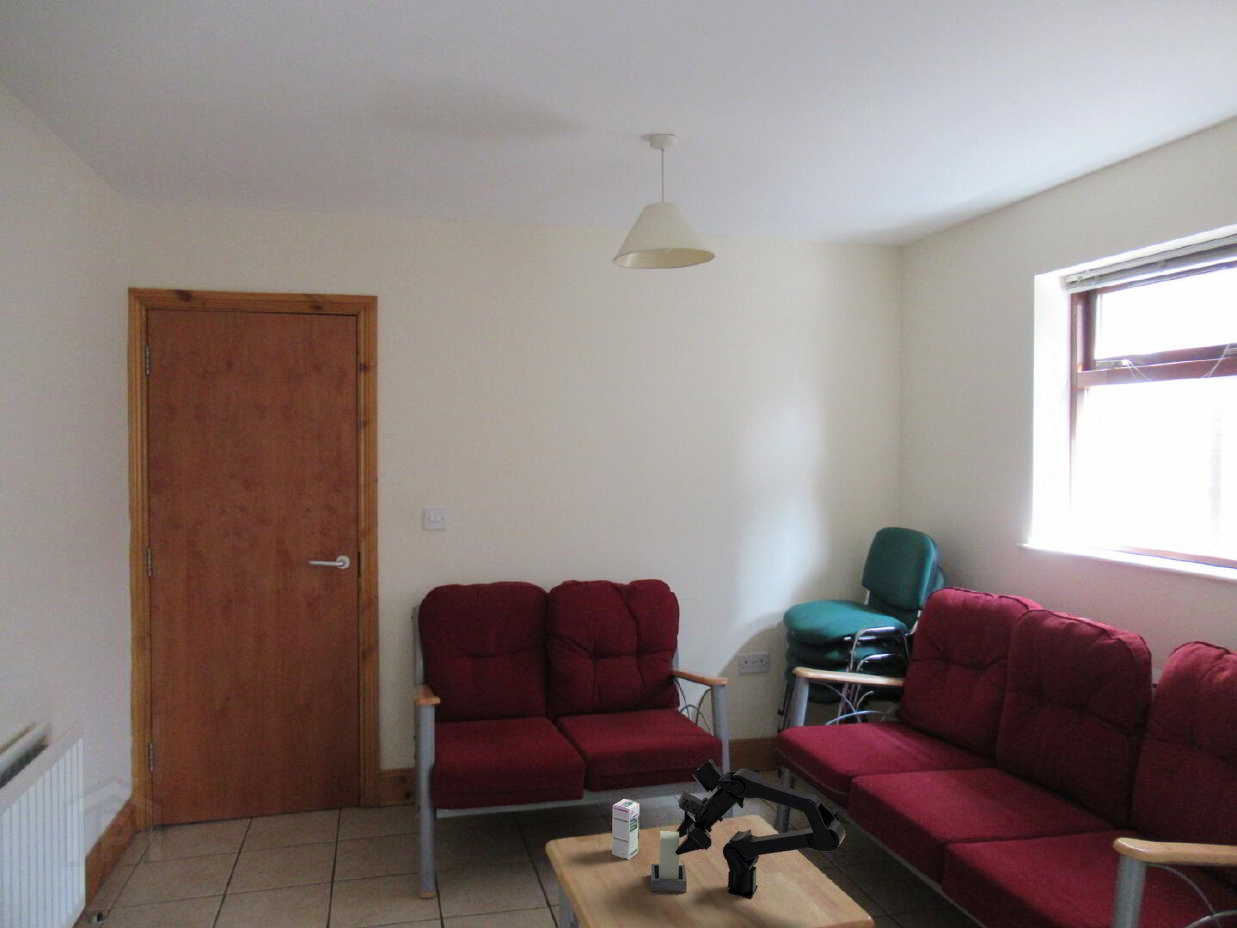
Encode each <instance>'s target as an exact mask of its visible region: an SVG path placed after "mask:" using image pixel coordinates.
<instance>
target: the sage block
mask: <svg viewBox="0 0 1237 928" xmlns="http://www.w3.org/2000/svg"><path fill="white" fill-rule="evenodd" d="M676 831H677V830H676ZM676 831H673V830H672V831H671V830H670V831H669V830H668V831H667V830H660V831H659V855H658V856H659V857H658V859H659V860H658V861H659V862H658V864H659V876H658V879H679V877H678V873H679V865H680V862H679V861H680V855H677V854H676V853H675V851H676V850H677V848H678V847H679V846H680V838H679V832H676Z"/></svg>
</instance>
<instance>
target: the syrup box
mask: <svg viewBox="0 0 1237 928" xmlns="http://www.w3.org/2000/svg"><path fill="white" fill-rule="evenodd" d="M611 826H612V833H611V834H612V839H611V842H612V843H611V849H612V850H611V855H613V856H615V857H618V856H619V857H618V858H621V859H624V858H626V859H625V860H630V859H631V858H633V857H634V856H636V855H637V854H638V852H639V853H640V802H638V801H635V800H632V799H627V798H623V799H622V800H620V801H618V802H616V803H614V804H613V805H612V825H611Z"/></svg>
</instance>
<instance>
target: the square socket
mask: <svg viewBox="0 0 1237 928" xmlns="http://www.w3.org/2000/svg"><path fill="white" fill-rule="evenodd" d="M656 877H659V863H651V864H650V882H651V883H650V884H651V885H650V886H651V887H650V888H651V890H652V891H651V892H654V891H662V892H661V893H682V892H685V894H686V893H687V890H688V889H687V887H688V886H687V873H686V865H685V864H679V873H678V879H659V878H656ZM679 878H681V879H679Z"/></svg>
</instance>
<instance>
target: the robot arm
mask: <svg viewBox="0 0 1237 928" xmlns="http://www.w3.org/2000/svg"><path fill="white" fill-rule="evenodd" d="M691 775H692V777H693V778H694V779H695V780H696V782H697V783H698V784H699V785H700V786H701V787H702V789H703V790H704V791H705V792H707V793H709V792H711V793H712V792H713V791H714V790H715V789H717V788H718V787H719V788H718V789H717V790H716V791H715V792H714V793H713V794H712V795H711V796H710V797H708V796H707V797H704V798H702V799H700V798H699V797H697V796H696V795H693V794H691V793H689V792H686V791H682V793H681V795H680V797H679V798H678V800H677V803H678V808H679V809H681V810H682V811H683V819H682V820H681V822H680V824H679V826H678V828H676V832H679V839H681V838H683V837H685V836H686V837H685V838H684V839H683V840H682V841H681V843H679V847H678V848H677V850H676V851H675V853H676V854H677V855H679V856H681V855H683V854H684V855H685V854H688V853H690V852H695V851H699V850H702V851H703V850H704V851H707V850H708V849H710V848H711V846H712V843H713V842H712V835H711V834H710V833H712V831H713V826H715V825H716V824H717V823H718V822H720V823H722V822H723V821H724V816H725V815H726V814H727V813H729V811H731V809H733V808H734V807H735V806H736V805H738V806H739V808H741V809H743V808H744V807H745V805H746V804H745V800H746V799H749V800H750V799H761V800H765V801H769V802H770V803H771V802H772V803H775V804H778V805H780V806H783V807H787V808H790V809H793V810H796V811H799V812H803V814H804V815H805V817H806V818H807V820H808V824H809V826H810V827H809V828H805V829H799V830H793V831H786V832H781V833H779V832H778V833H775V834H766V835H761V836H757V835H754V834H753V833H752V830H751V829H748V830H744V831H740V830H738V831H736V833H735V834H734V835H732V836H731V838H730V839H729V840H728V841H727V842H726V843H725V844H724V845H723V848H722V856H723V857H724V859H725V861H726V864H727V866H728V870H729V871H728V872H727V873H728V876H727V887H728V889H727V893H728V894H730V895H731V894H732V895H736V896H740V897H744V898H750V899H753V897H754V895H755V893H756V892H757V890H758V887H759V886H758V885H757V866H755V865H756V864H758V861H759V859H760V856H763V855H770V854H776V853H777V854H778V853H783V852H790V851H798V850H805V849H810V850H813V851H817V852H826V853H827V852H829V853H831V852H835V851H837V849H838V848H839V846H840V845H841V844H842V842H843V840H844V839H845V837H846V829H845V827H844V825H843V824H842V823H841V822H840V821H838V820H837V818H836V817H835V815H834V814H833V812H832V811H831V810H830V809H829V808H827V806H825V804H823V802H822V801H821V799H820V797H818V795H816V794H812V793H806V792H804V791H800V790H798V789H794V788H791V787H787V786H784V785H781V784H779V783H776V782H772V781H769V780H767V779H765V778H763V777H762V775H760V774H759V773H757V772H755V771H753V770H751V769H749V768H747V767H746V768H745V767H744V768H740V769H738V771H726V772H725V773H723V772H722V770H721V769H720V768H719V767H718V766H717V764H716V763H715V761H714V760H713V759H712V758H709V759H708V760H707V761H706V762H704V763H703V764H702V765H701V766H699V767H698V768H697V769H696V770H695V771H694V772H693V773H692V774H691Z"/></svg>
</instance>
